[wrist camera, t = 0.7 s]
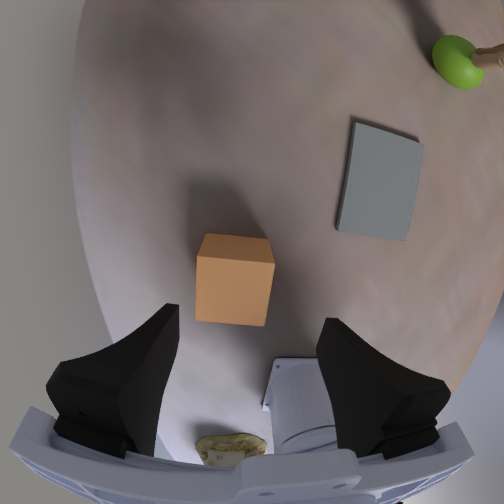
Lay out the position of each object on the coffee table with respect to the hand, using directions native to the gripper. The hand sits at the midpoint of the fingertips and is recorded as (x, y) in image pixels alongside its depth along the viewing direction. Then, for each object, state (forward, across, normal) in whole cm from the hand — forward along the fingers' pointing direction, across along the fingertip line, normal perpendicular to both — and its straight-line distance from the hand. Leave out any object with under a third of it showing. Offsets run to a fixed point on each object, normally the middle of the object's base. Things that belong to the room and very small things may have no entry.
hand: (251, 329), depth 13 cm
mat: (+10, -10, -7) cm, 16 cm away
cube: (+10, +1, +1) cm, 11 cm away
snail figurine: (+10, -16, -21) cm, 28 cm away
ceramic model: (+11, -2, +35) cm, 37 cm away
